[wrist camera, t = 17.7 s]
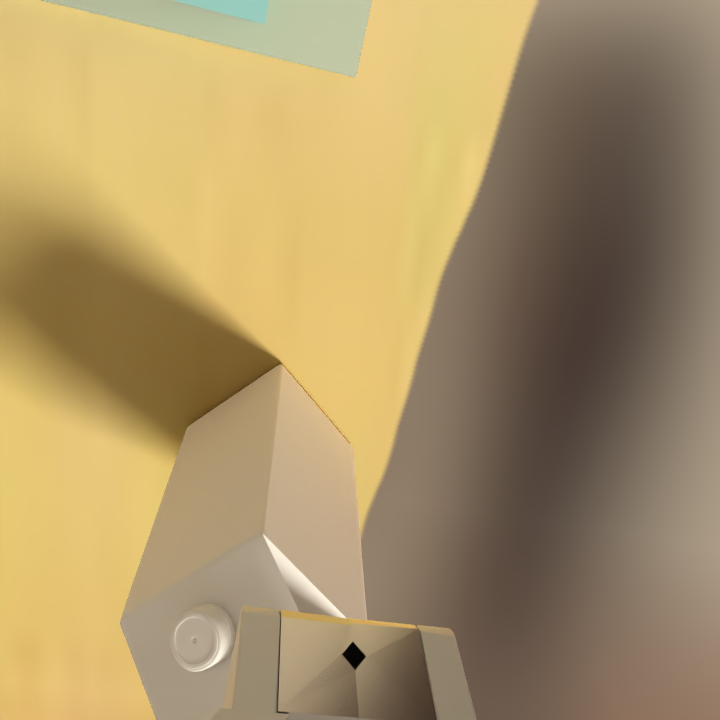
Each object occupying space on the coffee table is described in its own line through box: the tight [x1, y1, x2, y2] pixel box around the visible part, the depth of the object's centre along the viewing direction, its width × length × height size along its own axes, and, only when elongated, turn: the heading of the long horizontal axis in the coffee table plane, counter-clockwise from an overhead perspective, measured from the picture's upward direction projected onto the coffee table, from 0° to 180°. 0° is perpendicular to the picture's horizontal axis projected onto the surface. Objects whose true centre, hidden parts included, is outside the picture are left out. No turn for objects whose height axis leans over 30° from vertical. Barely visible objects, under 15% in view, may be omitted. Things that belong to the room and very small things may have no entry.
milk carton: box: [120, 364, 367, 720], centre depth 32 cm, size 7×7×19 cm
